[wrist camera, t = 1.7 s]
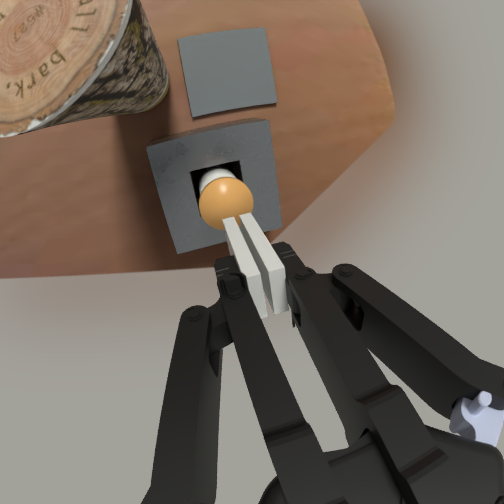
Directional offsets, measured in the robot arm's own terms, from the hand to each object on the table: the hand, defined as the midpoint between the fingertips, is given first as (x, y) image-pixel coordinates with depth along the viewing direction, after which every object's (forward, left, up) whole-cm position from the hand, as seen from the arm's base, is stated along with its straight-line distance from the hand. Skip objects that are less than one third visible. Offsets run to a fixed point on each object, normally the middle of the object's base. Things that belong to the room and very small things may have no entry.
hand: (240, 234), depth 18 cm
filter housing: (0, 0, -16) cm, 16 cm away
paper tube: (-6, +13, -17) cm, 22 cm away
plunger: (0, 0, -12) cm, 12 cm away
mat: (+4, +13, -16) cm, 21 cm away
